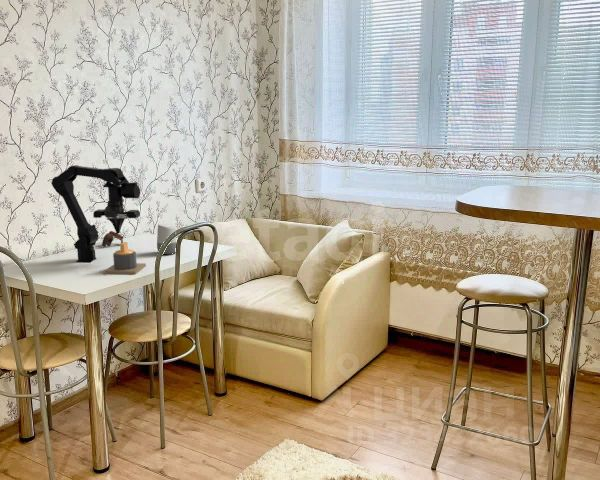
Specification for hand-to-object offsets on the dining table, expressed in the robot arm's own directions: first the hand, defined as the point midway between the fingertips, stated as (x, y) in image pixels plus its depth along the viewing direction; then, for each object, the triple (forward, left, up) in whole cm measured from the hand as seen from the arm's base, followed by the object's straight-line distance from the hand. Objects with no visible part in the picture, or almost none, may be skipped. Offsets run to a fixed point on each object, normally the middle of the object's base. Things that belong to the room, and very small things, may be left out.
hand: (118, 233), depth 259 cm
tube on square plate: (+7, -12, -13) cm, 19 cm away
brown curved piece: (-16, +31, -13) cm, 38 cm away
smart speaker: (+16, +18, -13) cm, 28 cm away
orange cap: (+7, -12, -8) cm, 16 cm away
